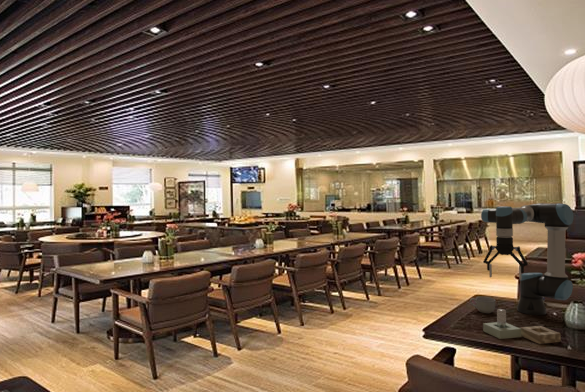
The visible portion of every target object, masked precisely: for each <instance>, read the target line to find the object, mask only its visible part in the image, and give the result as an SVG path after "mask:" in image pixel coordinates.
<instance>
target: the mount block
mask: <svg viewBox="0 0 585 392" xmlns="http://www.w3.org/2000/svg"><path fill="white" fill-rule="evenodd" d="M519 328H520V329H521V338H525V339H527V340H530V341H532V342H534V343H536V344H538V345H542V344H551V343H561V338H562V337H561V333H560V332H559V331H558V332H557V331H556V330H552V329H550V328H548V327H544V326H541V325H534V326H523V327H521V326H520V327H519Z"/></svg>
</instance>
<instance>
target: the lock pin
mask: <svg viewBox="0 0 585 392" xmlns="http://www.w3.org/2000/svg"><path fill="white" fill-rule="evenodd" d="M496 319H497V320H496V322H497V327H499V328H506V323H507V310H506V309H502V308H498V309H497V308H496Z"/></svg>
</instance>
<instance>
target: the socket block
mask: <svg viewBox="0 0 585 392" xmlns="http://www.w3.org/2000/svg"><path fill="white" fill-rule="evenodd" d="M482 324H483V328H482V330H483V332H484V333H485V334H489V335H491V336H493V337H495V338H497V339H499V340H505V339H513V338H522V336H521V329H520V327H518V326H515V325H513V324H511V323H508V322H506V328H499V327H497V321H495V322H487V323H486V322H485V323H484V322H483V323H482Z"/></svg>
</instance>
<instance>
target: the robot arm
mask: <svg viewBox="0 0 585 392" xmlns="http://www.w3.org/2000/svg"><path fill="white" fill-rule="evenodd" d="M480 213H481V214H480V215H481V216H480V218H481V221H483V222H484V223H490V224H492V223H493V224H495V225H496V227H495V228H496V229H495V230H496V231H495V233H496V234H495V235H496V236H497V237H496V245H492V244H491V245H490V246H489V250H488V252H487V253H486V256H485V257H484V259H483V261H482V262H483V264H486V270H487V271H489V278H492V277H493V275H492V274H493V273H492V272H493V271H492V268H493V267H492V262H493V261H494V260H495V259H496V258H497V257H498V256H499V255H501V256H509V255H510V256H511V257H512V258H513V259H514V260H515V261H516V263H518V265H519V267H518V269H519V271H518V272H519V274H518V277H519V278H518V279H519V282H520V283H519V286H520V287H519V288H520V291H519V293H520V295H519V296H520V298H519V301H518V304H517V306H516V309H517V312H519V313H522V314H525V315H532V316H533V315H534V316H543V315H546V314H547V309H546V305H545V304H544V303H545V301H544V302H543V297H545V298H549V299H553V300H557V301H566V300H568V299H569V298H570V296H572V293H573V288H574V285H573V282H572V281H571V280H570V279H569V276H568V275H567V274H566V231H567V230H568V229H569V226H570V225H573V222H574V212H573V209H572V207H571V206H570V205H569V204H567V203H532V204H525V205H522V206H521V207H512V206H506V205H505V206H496V208H484V209H483V210H482V211H481V212H480ZM525 222H526V223H527V222H531V223H537V224H544V227H545V229H546V230H547V244H546V245H547V246H546V247H547V249H546V250H547V251H546V253H547V255H546V256H547V258H546V272H545V273H542V272H524V271H525V269H524V268H525V267H526V266H528V265H529V263H528V261H527V260H526V258H525V256H524V254H523V252H522V250H521V247H520V246H514V238H513V236H514V228H513V226H514V225H520V224H524V223H525ZM494 250H496V251H497V252H496V253H495V254H494V255H493V256H492V257H491V258H490V259H489V257H490V256H491V254H492V252H493V251H494ZM514 250H515V251H516V252H517V253H518V256H519V257H520V258H521V260H522V261H521V260H520V259H519V258H518V257H517V255H516V254H515V253H514V252H513V251H514ZM488 259H489V260H488Z"/></svg>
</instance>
